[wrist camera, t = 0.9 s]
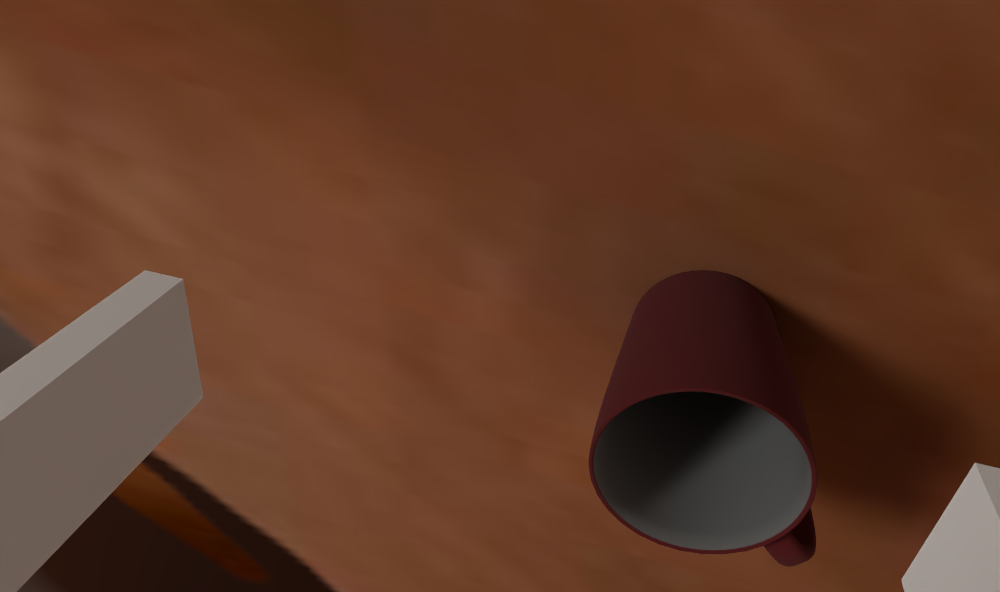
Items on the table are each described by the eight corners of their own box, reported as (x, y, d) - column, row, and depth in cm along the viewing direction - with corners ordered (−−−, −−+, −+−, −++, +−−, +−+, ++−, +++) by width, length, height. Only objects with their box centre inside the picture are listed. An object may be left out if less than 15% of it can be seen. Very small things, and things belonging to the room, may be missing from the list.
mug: (864, 387, 37) (913, 555, 28) (722, 456, 42) (724, 621, 33) (718, 223, 35) (720, 349, 26) (584, 316, 39) (545, 451, 30)
